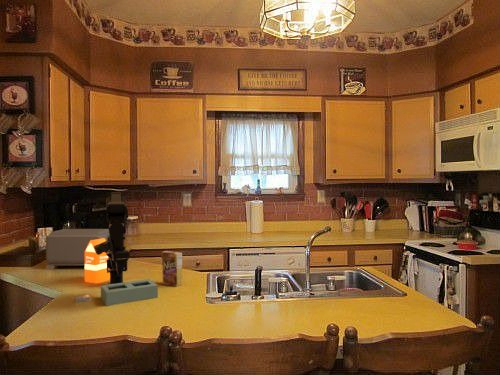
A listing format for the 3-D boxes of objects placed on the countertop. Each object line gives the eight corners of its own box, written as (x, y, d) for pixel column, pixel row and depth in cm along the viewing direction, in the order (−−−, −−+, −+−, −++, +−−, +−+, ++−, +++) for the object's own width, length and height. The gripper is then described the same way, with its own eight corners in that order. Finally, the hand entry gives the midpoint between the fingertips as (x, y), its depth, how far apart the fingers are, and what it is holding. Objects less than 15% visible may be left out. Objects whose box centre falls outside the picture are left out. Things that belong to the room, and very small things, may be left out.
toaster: (108, 269, 206) (107, 232, 206) (44, 270, 206) (43, 232, 206) (120, 262, 226) (119, 228, 225) (61, 262, 225) (61, 228, 225)
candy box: (161, 284, 175) (161, 251, 175) (168, 282, 179) (167, 250, 179) (176, 287, 171) (176, 253, 170) (182, 284, 174) (182, 251, 174)
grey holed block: (100, 297, 155) (100, 285, 154) (149, 290, 165) (149, 279, 165) (106, 306, 144) (106, 292, 144) (157, 297, 155) (157, 285, 155)
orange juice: (84, 281, 181) (84, 240, 181) (99, 277, 189) (99, 237, 189) (95, 283, 177) (95, 241, 177) (110, 279, 185) (110, 238, 185)
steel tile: (74, 301, 151) (74, 296, 151) (88, 299, 154) (88, 294, 154) (76, 304, 148) (76, 299, 148) (90, 301, 151) (89, 296, 151)
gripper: (91, 233, 156) (91, 270, 156) (99, 238, 140) (99, 280, 140) (119, 231, 161) (119, 267, 162) (130, 236, 146) (130, 276, 146)
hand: (116, 272), depth 152 cm, fingers open, 9 cm apart
